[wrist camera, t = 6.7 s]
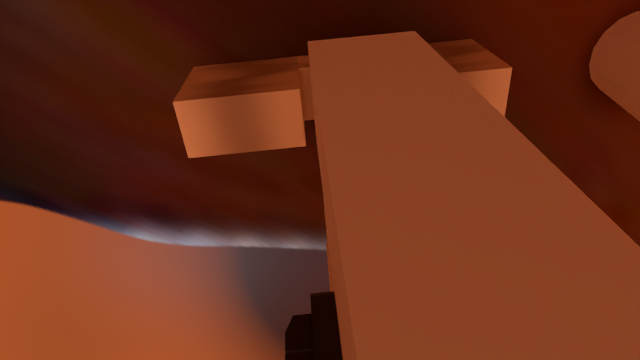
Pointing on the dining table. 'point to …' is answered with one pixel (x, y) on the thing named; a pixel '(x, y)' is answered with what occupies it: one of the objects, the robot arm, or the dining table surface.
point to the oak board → (292, 99)
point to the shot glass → (619, 63)
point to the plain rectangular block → (456, 220)
